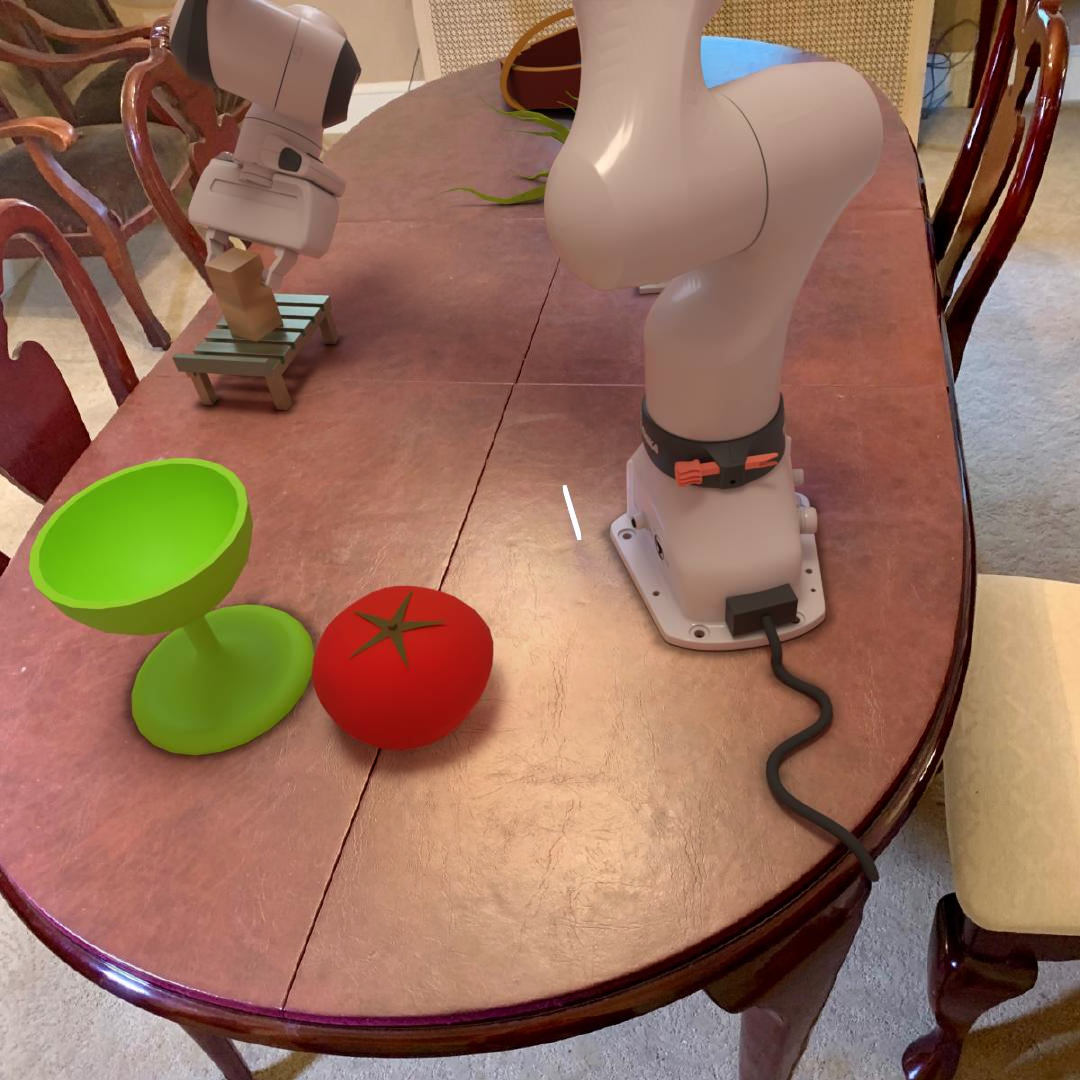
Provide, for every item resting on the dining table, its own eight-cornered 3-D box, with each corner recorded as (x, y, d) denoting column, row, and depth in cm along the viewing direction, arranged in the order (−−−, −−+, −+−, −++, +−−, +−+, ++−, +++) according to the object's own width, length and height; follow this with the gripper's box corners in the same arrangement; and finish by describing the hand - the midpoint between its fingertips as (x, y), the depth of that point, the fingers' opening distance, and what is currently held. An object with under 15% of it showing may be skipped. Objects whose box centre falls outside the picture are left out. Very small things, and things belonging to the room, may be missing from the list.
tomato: (319, 777, 73) (278, 698, 66) (343, 649, 82) (310, 567, 75) (500, 766, 72) (479, 684, 65) (504, 637, 81) (486, 552, 74)
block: (258, 315, 114) (233, 246, 108) (283, 323, 112) (259, 254, 106) (230, 333, 112) (203, 264, 106) (256, 342, 110) (230, 272, 104)
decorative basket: (675, 69, 182) (671, -20, 173) (703, 98, 158) (700, -4, 150) (502, 96, 183) (490, 9, 175) (505, 129, 160) (490, 30, 151)
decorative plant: (491, 163, 155) (477, 68, 144) (658, 181, 142) (655, 79, 132) (432, 211, 144) (412, 112, 134) (607, 235, 132) (599, 128, 121)
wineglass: (165, 610, 88) (78, 464, 76) (330, 602, 87) (270, 451, 74) (103, 758, 77) (-10, 614, 64) (292, 751, 75) (213, 603, 63)
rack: (285, 416, 109) (265, 362, 104) (195, 410, 112) (171, 357, 107) (342, 337, 120) (326, 284, 115) (259, 333, 123) (240, 281, 118)
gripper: (194, 137, 108) (160, 254, 110) (319, 161, 99) (281, 289, 100) (235, 160, 114) (203, 271, 115) (358, 185, 104) (321, 306, 106)
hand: (240, 279), depth 108 cm, fingers open, 8 cm apart
